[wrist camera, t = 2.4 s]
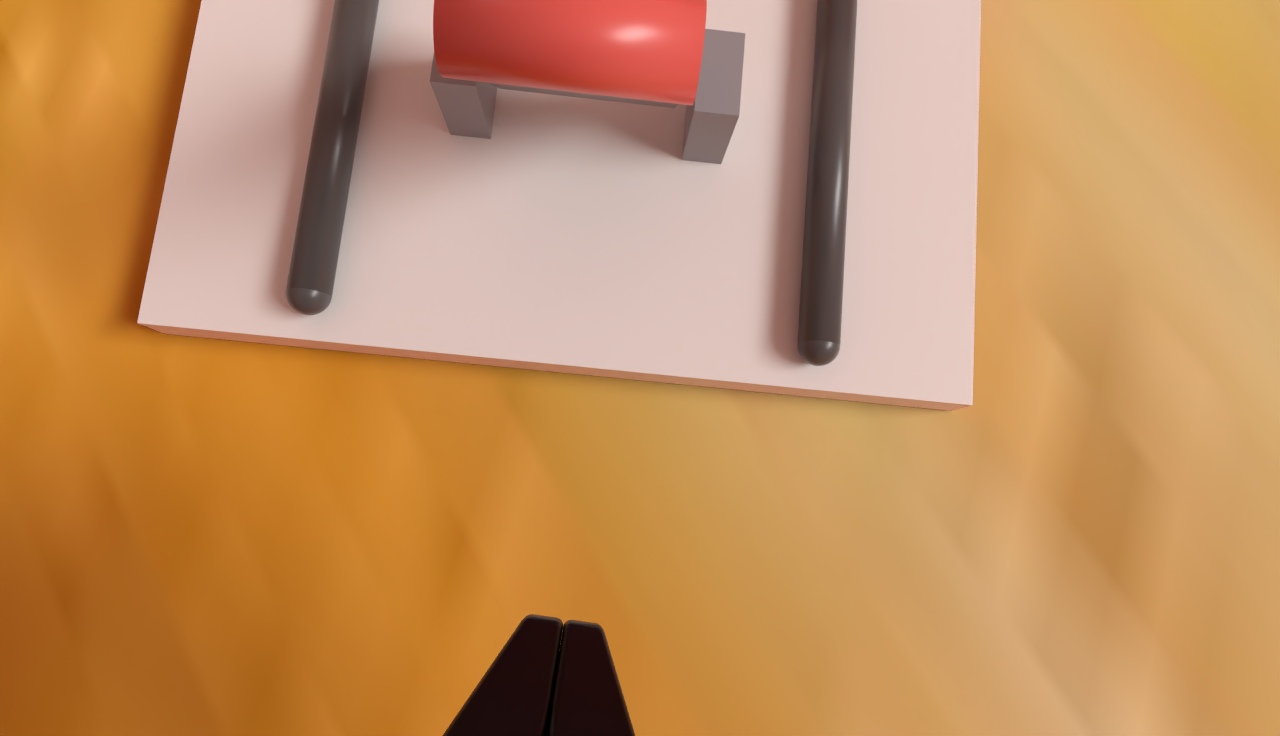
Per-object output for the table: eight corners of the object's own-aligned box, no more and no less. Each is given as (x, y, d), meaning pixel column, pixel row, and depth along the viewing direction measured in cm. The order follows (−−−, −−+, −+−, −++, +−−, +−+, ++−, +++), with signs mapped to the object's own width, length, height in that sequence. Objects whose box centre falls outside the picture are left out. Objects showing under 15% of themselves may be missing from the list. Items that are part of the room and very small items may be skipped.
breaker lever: (671, 117, 19) (696, 103, 12) (504, 99, 19) (431, 73, 12) (679, 46, 19) (710, -12, 12) (508, 27, 19) (434, -44, 12)
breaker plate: (951, 410, 21) (1028, 390, 17) (163, 333, 20) (66, 294, 16) (961, -9, 23) (1033, -108, 19) (246, -94, 22) (176, -215, 19)
